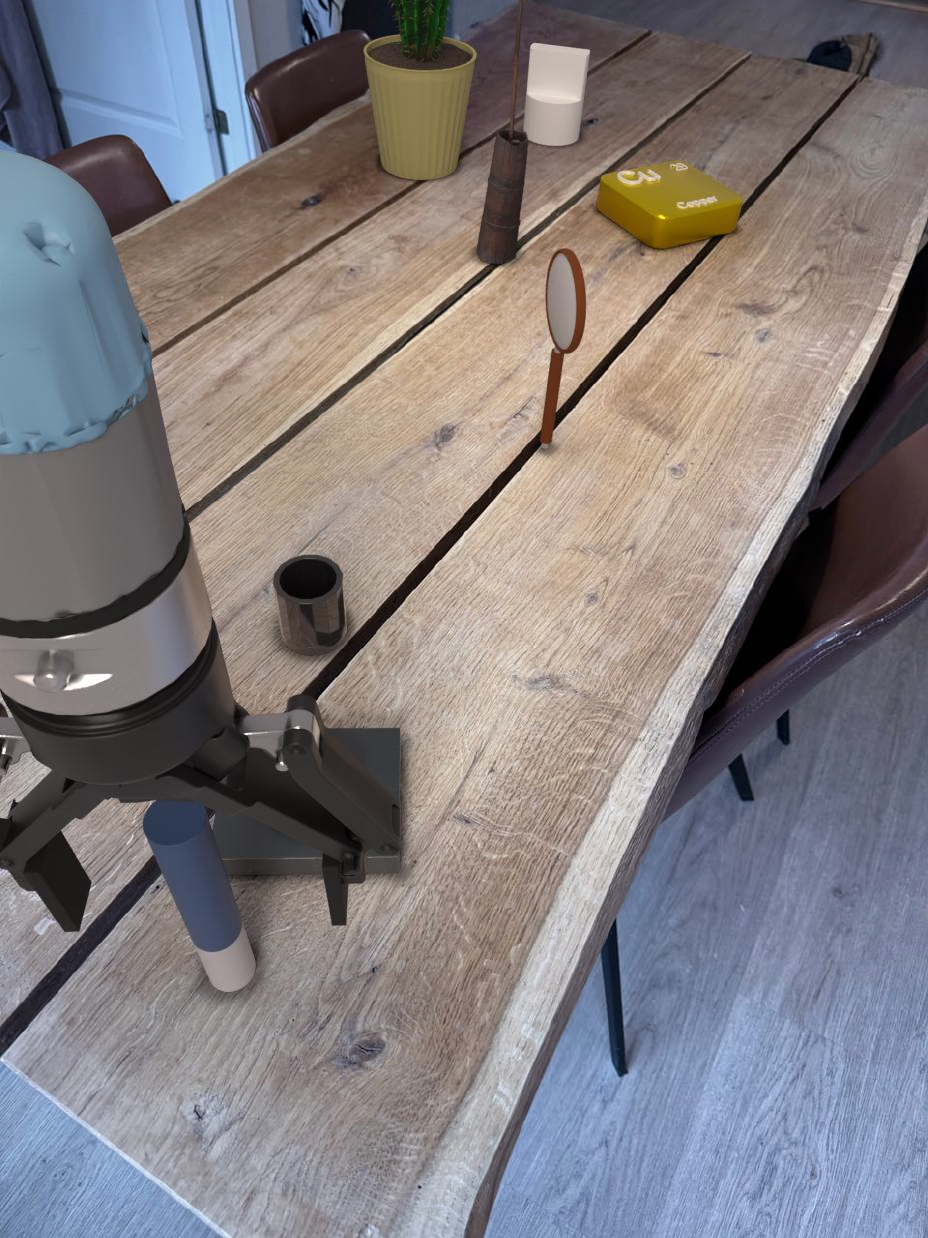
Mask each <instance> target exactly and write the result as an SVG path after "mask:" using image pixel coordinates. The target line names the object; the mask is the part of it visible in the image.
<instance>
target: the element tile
mask: <svg viewBox="0 0 928 1238" xmlns="http://www.w3.org/2000/svg"><path fill="white" fill-rule="evenodd" d="M743 204H744V198H743V196H742V195H740V194H739V192H738V193H737V192H736V191H734V190H733V189H731V188H730V187H728V186H726V185H725V184H723V183H721V182H719V181H718V180H716V179H714V178H713V177H711V176H709V175H708V174H706V173H705V172H703V171H701V170H700V169H698V168H696V167H694V166H693V165H691V164H690V163H688V162H685V161H683V160H680V159H674V160H668V161H663V162H659V163H653V164H649V165H642V166H637V167H633V168H629V169H624V170H618V171H614V172H613V171H612V172H608V173H604V174H603V175H602V176H600V180H599V186H598V192H597V200H596V208H597V210H598V212H600V213H601V214H602V215H604V216H605V217H607V218H608V219H610V220H611V221H612V222H613V223H615V224H617V225H618V226H619V227H621V228H622V229H624V230H625V231H626V232H628V233H629V234H631V235H632V236H633V237H634V238H636V239H637V240H639V241H640V242H641V243H643V244H644V245H646V246H647V247H650V248H652V249H658V250H664V249H670V248H674V247H679V246H682V245H686V244H691V243H694V242H699V241H703V240H707V239H711V238H715V237H719V236H720V237H721V236H723V235H728V234H731V233H733V232H734V231H735V230H736V229H737V226H738V222H739V218H740V215H741V211H742V207H743Z"/></svg>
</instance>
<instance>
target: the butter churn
mask: <svg viewBox="0 0 928 1238" xmlns="http://www.w3.org/2000/svg"><path fill="white" fill-rule="evenodd" d="M523 6H524V0H518V1H517V13H516V23H515V24H516V27H515V43H514V59H513V75H512V76H513V77H512V88H511V99H510V100H511V101H510V105H511V106H510V116H509V128H507V129H506V128H501V129H499V130H497V132H496V135H495V139H494V145H493V152H492V158H491V164H490V171H489V175H488V177H487V187H486V192H485V193H486V194H485V200H484V205H483V212H482V215H481V216H482V217H481V222H480V226H479V227H480V228H479V232H478V238H477V245H476V253H477V257H478V259H479V260H481V261H483V262H486V263H488V264H493V265H494V264H495V265H503V264H504V263H507V262H510V261H512V260H514V259H516V257H517V250H518V240H519V232H520V231H519V230H520V227H521V224H522V223H521V211H522V205H523V196H524V195H523V194H524V187H525V183H526V182H525V179H526V171H527V162H528V161H527V160H528V153H529V152H528V149H529V148H528V147H529V144H530V143H529V140H528V137H527V133H526V132H525V131H523V130H518V129H515V121H516V114H515V112H516V111H517V110H516V100H517V89H518V85H517V84H518V73H519V72H518V71H519V58H520V50H521V32H522V20H523Z"/></svg>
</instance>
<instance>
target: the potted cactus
mask: <svg viewBox="0 0 928 1238" xmlns="http://www.w3.org/2000/svg"><path fill="white" fill-rule="evenodd" d="M391 1H393V2H392V3H391V6H390V9H392V8H393V6H394V5H395V8H396V10H394V14H395V15H391V17H395V18H393V20H392V21H391V23H392V22H394V21H395V20H396V19H398V26H397V28H399V29H397V30H395V33H397V32H398V31H399V34H393V35H386V36H382V37H379V38H376V39H373V40H371V41H369V42H368V43H367V44H365V45H364V48H363V55H364V63H365V69H366V74H367V81H368V87H369V94H370V100H371V106H372V113H373V119H374V126H375V131H376V137H377V138H376V139H377V145H378V152H379V157H380V163H381V166H382V168H383V170H385V171H386V172H387V173H389V174H391V175H393V176H396V177H398V178H401V179H406V180H415V181H429V180H436V179H441V178H445V177H448V176H450V175H451V174H453V173H454V172H455V171H456V170H457V167H458V162H459V155H460V151H461V145H462V139H463V134H464V133H463V132H464V127H465V122H466V116H467V111H468V110H467V109H468V104H469V99H470V92H471V86H472V80H473V76H474V69H475V65H476V63H475V62H476V59H477V51H476V49H475V48H474V47H472V45H470V44H468V43H466V42H463V41H461V40H458V39H455V38H451V37H447V36H445V35H446V34H447V35H448V33H449V34H450V31H449V30H448V29H447V27H446V26H447V23H448V22H450V21H451V22H452V20H451V19H450V17H448V9H449V12H453V14H454V13H455V11H454V10H452V9H450V6H449V5H450V4H451V2H452V3H453V1H452V0H389V1H388V3H390V2H391ZM381 2H383V0H381Z"/></svg>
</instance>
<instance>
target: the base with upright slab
mask: <svg viewBox="0 0 928 1238" xmlns="http://www.w3.org/2000/svg"><path fill="white" fill-rule="evenodd" d="M590 54H591V49H587V48H579V47H572V46H571V47H570V46H563V45H554V44H547V43H540V42H539V43H538V42H533V43H532V44H531V45H530V47H529V55H528V57H529V58H528V66H527V67H528V68H527V81H526V92H525V103H524V112H523V113H524V114H523V115H524V116H523V127H522V132H523V131H525V132H526V133H527V137H528V141H530V142H532V143H535V144H538V145H543V146H548V147H549V146H551V147H562V146H563V147H564V146H568V145H572V144H574V143H576V142H578V140H579V139H580V132H581V123H582V117H583V116H582V115H583V107H584V100H585V94H586V93H585V92H586V84H587V77H588V70H589V62H590V56H591V55H590Z"/></svg>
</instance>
